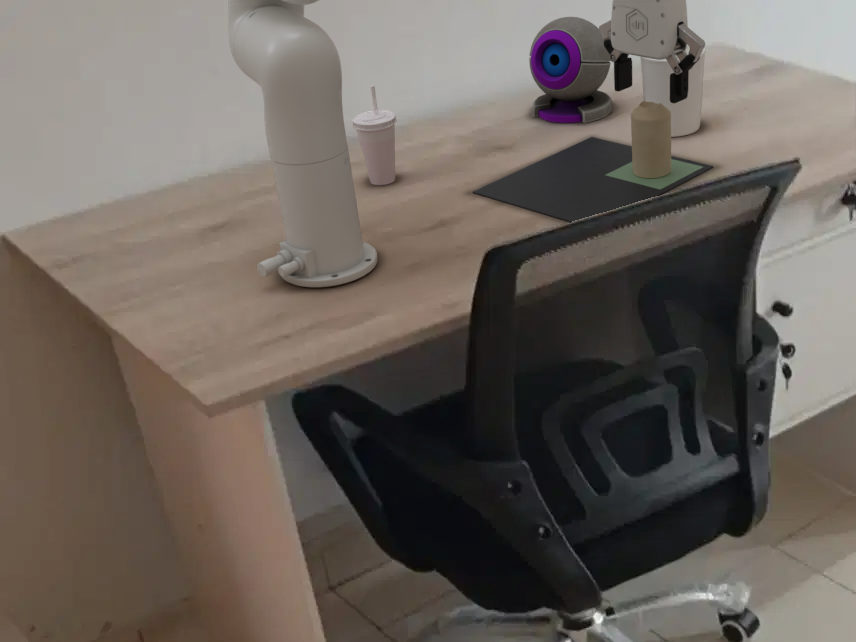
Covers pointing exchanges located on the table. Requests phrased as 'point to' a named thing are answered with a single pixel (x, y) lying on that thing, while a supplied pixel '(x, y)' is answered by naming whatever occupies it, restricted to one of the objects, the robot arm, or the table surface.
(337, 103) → the robot arm
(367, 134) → the smoothie
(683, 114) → the candle holder
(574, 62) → the webcam
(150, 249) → the table surface
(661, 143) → the candle
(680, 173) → the desk pad
